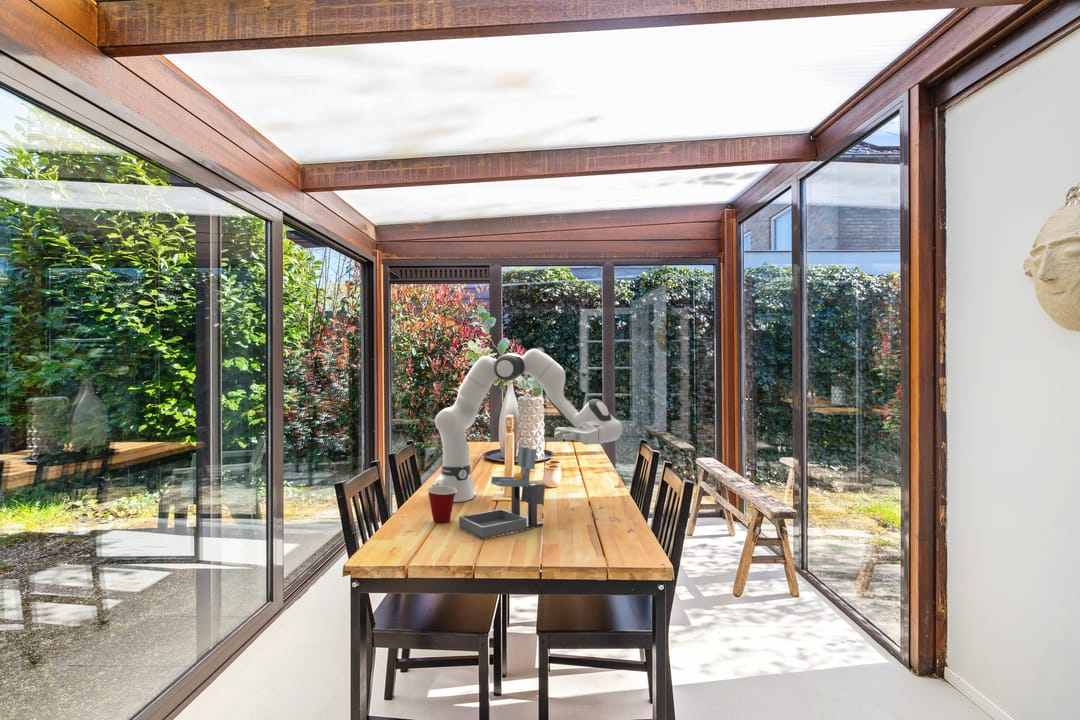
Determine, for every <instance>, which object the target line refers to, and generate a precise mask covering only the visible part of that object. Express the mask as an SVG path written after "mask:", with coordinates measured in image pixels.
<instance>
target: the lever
mask: <svg viewBox="0 0 1080 720" xmlns="http://www.w3.org/2000/svg"><path fill="white" fill-rule="evenodd" d="M536 457H537V449H535V448H532V447H527V446H519V448H518V456H517V464H516V465H517V466H518V467H520V472H519V473H521V474H522V475H523V479H513V476H491V480H490V484H492V485H494V486H497V487H505V488H506V487H520V488H522V489H521V496H520V502H524V503H526V504H528V485H529V484H536V485H537V505H544V501H545V500H544V499H545V489H546V484H544V483H542V482H537V481H535V480H533V481H532V480H531V481H530V475H531V470H535V466H536V465H535V464H536Z"/></svg>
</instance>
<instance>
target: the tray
mask: <svg viewBox="0 0 1080 720" xmlns="http://www.w3.org/2000/svg"><path fill="white" fill-rule="evenodd" d="M458 521H459V524H458V525H459V529H460V528H461V529H460V530H462V529H463V530H462V531H464V530H465V531H464V532H466V531H467V533H468V532H469V533H468V534H470V533H471V534H470V535H472V534H473V535H472V536H474V535H475V536H474V537H476V536H477V537H476V538H478V537H479V538H478V539H480V540H482V539H483V540H487V539H486V538H488V539H491V538H490V537H493V536H497V537H499V536H498V535H502V534H507V533H511V532H516V531H521V530H526V531H527V530H528V529H527V519H526V518H524V517H521V516H519V515H516V514H514V513H511V511H509V510H505V509H504V508H501V509H500V508H499V509H495V510H490V511H489V510H488V511H484V512H477V513H473V514H467V515H466V514H465V515H461V516H459V520H458ZM521 532H522V531H521ZM507 535H508V534H507ZM502 536H503V535H502ZM493 538H494V537H493Z"/></svg>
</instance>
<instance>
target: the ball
mask: <svg viewBox="0 0 1080 720" xmlns="http://www.w3.org/2000/svg"><path fill="white" fill-rule="evenodd" d="M512 477H513V479H523V475H522V474H521V473H520V472H515V473H514V474H513V476H512Z"/></svg>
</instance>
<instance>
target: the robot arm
mask: <svg viewBox="0 0 1080 720" xmlns="http://www.w3.org/2000/svg"><path fill="white" fill-rule="evenodd" d="M524 374H527V375H528V376H530V377H531V378H532V379H534V381H536V382H537V383H538V384H539V385H541V387H542V388H543V390H544V393H545V396H546V399H547V400H548V401H549V403H550V404H551V406H553V407H554V409H555V410H556V411H557V412H558V413H559V414H560V415H561V416H562V417H563V419H564V420H565V421H566V422H567V423H568V424H569V426H562V427H561V426H559V427H555V428H554V434H553V437H554V438H557V439H559V438H560V439H563V440H570V441H575V442H576V441H577V442H580V443H581V444H582V445H584V446H588V445H602V444H604V443H611V442H614V441H617V440H619V439H620V438H621V436H622V433H623V425H622V423H621V421H620V420H618V419H616V418H615V417H614V416H613V415H612V414H611V412H610V410H609V407H608V405H607V403H605V401H602V400H601V399H598V398H592V399H590V400H589V401H588V402H587V403H586V404H585V405H584V406H583V408H582V409H581V410H580V411H579V412H578V411H577V410H576V408H574V407H573V405H572V404H571V403H570V402H569V401H568V400H567V399H566V397H565V394H564V391H565V390H564V389H565V384H566V371H565V370H564V368H563V367H562V366H561V365H560V364H559V363H558V362H557V361H555V360H554V359H553V358H552V357H551V356H549V355H548V354H547V353H545V352H544V351H542V350H540V349H538V348H531V349H529V350H527V351H526V352H525V353H524V354H523V355H522V354H520V353H518V352H508V353H507V352H506V353H505V354H503V355H500V356H499V357H498V358H493V357H492V356H489V355H482V356H481V357H479V358H478V359H477V361H476V362H475V363H474V364H473V365H472V367H471V368H470V370H469V371H468V373H467V374H466V376H465V377H464V380H463V381H462V383H461V384H460V386H459V388H458V390H457V397H456V400H455V402H454V404H453V405H452V406H450V407H445V408H443V409H441V410H440V411H439V412H438V413H437V414H436V416H435V418H434V425H435V428H436V429H437V430H438V433H439V435H440V439H441V444H442V445H441V446H442V465H441V466H440V474H439V476H437V478H436V479H434V482H433V483H432V484H431V487H434V486H447V487H453V488H455V489H457V492H456V493H455V496H454V501H453V503H458V502H467V501H470V499H471V500H472V498H473V499H474V497H476V496H477V492H475V487H474V478H473V476H472V475H471V469H472V467H471V463H470V444H469V443H468V442H467V437H466V432H465V431H466V430H469V429H470V428H471V427H472V426H473V425H474V423H475V422H476V418H477V415H478V412H479V410H480V407H481V405H482V402H483V401H484V399H485V397H486V395H487V394H488V392H489V391H490V389H491V387H492V385H494V384H493V383H494V382H495V380H497V379H500V380H501V381H505V382H509V381H510V382H511V381H513V380H516V379H519V377H521V376H523V375H524ZM427 493H428V492H427ZM428 494H429V493H428ZM428 494H427V495H428Z"/></svg>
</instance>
